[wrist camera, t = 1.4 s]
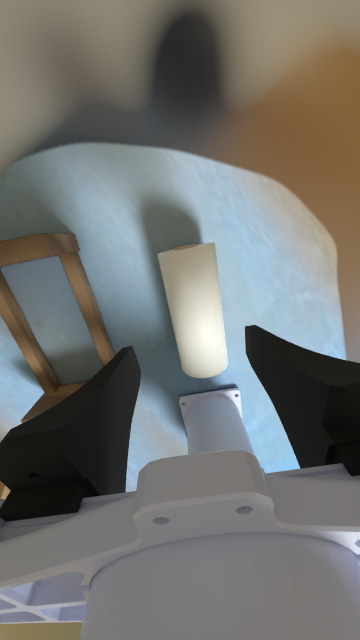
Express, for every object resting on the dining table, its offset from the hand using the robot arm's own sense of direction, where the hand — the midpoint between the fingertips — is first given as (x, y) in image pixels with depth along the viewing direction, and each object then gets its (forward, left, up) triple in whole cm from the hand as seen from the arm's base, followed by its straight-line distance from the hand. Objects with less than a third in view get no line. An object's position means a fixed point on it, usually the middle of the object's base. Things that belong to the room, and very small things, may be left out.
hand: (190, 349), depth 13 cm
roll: (0, -1, -7) cm, 7 cm away
